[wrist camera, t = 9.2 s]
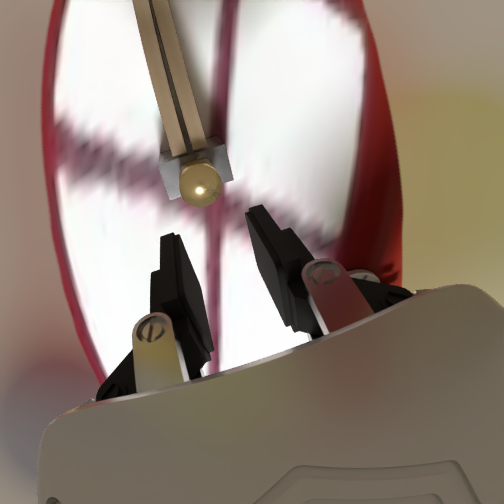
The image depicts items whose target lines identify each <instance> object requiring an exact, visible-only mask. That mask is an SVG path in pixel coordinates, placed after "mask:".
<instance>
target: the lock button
mask: <svg viewBox="0 0 504 504" xmlns="http://www.w3.org/2000/svg"><path fill="white" fill-rule="evenodd" d="M179 190H180V194H181V197H182V198H183V200H184V201H185V202H186V203H188V204H190V205H192V206H195V207H204V206H208V205H210V204H212V203H213V202H215V201H216V200H217V198H218V197H219V196H220V194H221V191H222V180H221V178H220V176H219V174H218V172H217V170H216V168H215V167H214V165H213V164H212V163H210V162H209V161H207V160H204V159H195V160H191V161H189V162H188V163H186V164H185V165H184V166H183V167H182V169H181V170H180V173H179Z"/></svg>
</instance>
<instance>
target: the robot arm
mask: <svg viewBox="0 0 504 504" xmlns="http://www.w3.org/2000/svg"><path fill="white" fill-rule="evenodd" d="M245 216H246V221H247V225H248V229H249V233H250V237H251V242H252V246H253V250H254V254H255V258H256V262H257V266H258V269H259V272H260V274H261V276H262V278H263V280H264V282H265V284H266V286H267V288H268V291H269V293H270V295H271V297H272V299H273V301H274V303H275V305H276V307H277V309H278V311H279V314H280V316H281V318H282V320H283V322H284V324H285V326H286V327H288V326H290V325H291V327H292V329H293V331H294V333H295V332H298V331H302V332H305V333H307V335H308V339H309V342H307V343H304V344H301V345H299V346H296V347H293V348H291V349H288V350H285V351H283V352H280V353H277V354H274V355H271V356H268V357H265V358H263V359H260V360H257V361H254V362H251V363H247V364H244V365H241V366H238V367H235V368H232V369H228V370H225V371H222V372H218V373H215V374H211V375H208V376H205V375H204V372H203V370H202V367H203V366H204V364H205V363H206V362H208V361H211V356H210V352H212V351H214V347H213V342H212V338H211V333H210V329H209V324H208V319H207V315H206V310H205V305H204V300H203V295H202V290H201V286H200V284H199V281H198V279H197V276H196V274H195V271H194V269H193V267H192V264H191V262H190V259H189V257H188V254H187V252H186V249H185V247H184V244H183V242H182V239H181V237H180V235H179V234H178V235H175V234H174V233H170V234H167V235H164V236H161V237H160V270H157V271H154V272H152V273H151V283H150V314H148V315H146V316H144V317H143V318H142V319H140V320H139V321H138V322H137V324H136V325H135V327H134V329H133V333H132V343H133V349H132V350H131V352H130V353H129V354H128V355H127V356H126V357H125V359H124V360H123V361H122V362H121V363H120V364H119V365H118V367H117V368H116V369H115V370H114V371H113V372H112V374H111V375H110V376H109V377H108V378H107V379H106V381H105V382H104V383H103V384H102V385H101V387H100V388H99V390H98V392H97V395H96V399H95V400H93V399H92V398H91V399H89V400H88V401H86V402H85V403H83V404H82V405H80V406H79V407H77V408H75V409H72V410H70V411H68V412H66V413H64V414H62V415H61V416H59V417H57V418H56V419H54V420H53V421H52V422H51V423H50V424H49V425H48V426H47V427H46V429H45V430H44V432H43V435H42V438H41V441H40V446H39V453H38V464H37V494H38V504H504V308H503V307H502V306H501V305H500V304H499V303H498V302H497V301H496V300H495V299H494V298H492V297H491V296H490V295H489V294H487V293H486V292H484V291H483V290H482V289H480V288H478V287H475V286H472V285H467V284H455V285H447V286H442V287H438V288H434V289H424V290H415V293H414V294H413V293H411V292H410V291H408V290H407V289H405V288H402V287H399V286H394V285H389V284H384V283H380V281H379V279H378V278H377V277H376V276H375V275H374V273H372V272H370V271H368V270H364V269H357V270H352V271H348V272H347V271H346V270H345V268H344V267H343V266H342V265H341V264H340V263H339V262H337V261H335V260H332V259H327V258H321V259H316V260H315V259H314V257H313V256H312V255H311V253H310V252H309V251H308V249H307V248H306V247H305V246H304V244H303V243H302V242H301V240H300V239H299V238H298V237H297V235H296V234H295V233H294V231H293V230H292V229H291V228H287V229H284V230H280V228H279V227H278V225H277V224H276V223H275V221H274V220H273V219H272V217H271V216H270V214H269V213H268V212H267V210H266V209H265V208H264V206H263V205H262V204H261V205H258V206H254V207H251V208H249V212H246V213H245Z"/></svg>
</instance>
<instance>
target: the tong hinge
mask: <svg viewBox="0 0 504 504" xmlns="http://www.w3.org/2000/svg"><path fill="white" fill-rule="evenodd" d="M206 142H207V146H205V147H202V148H199V149H196V150H193V147H192V145H191V143H190V144H187V145H185V146H186V150H187V152H186V153H183V154H180V155H176V156H173V155H172V152H171V150H169V151H166V152H163V153H160V156H159V161H158V167H159V170H160V173H161V176H162V179H163V182H164V185H165V188H166V190H167V193H168V196H169V199H170V200H172V199H175V198H178V197H181V194H180V190H179V173H180V170H181V169H182V167H183V166H184V165H185V164H186V163H188V162H189V161H191V160H195V159H204V160H207V161H209V162H210V163H212V164H213V165H214V167H215V168H216V170H217V172H218V174H219V176H220V178H221V180H222V183H225V182H229V181H232V180H234V179H233V175H232V171H231V167H230V163H229V159H228V155H227V150H226V146H225V144H224V143H223V142H222V140H221V139H220V138H219V137H218V136H214V137H210V138H207V139H206Z"/></svg>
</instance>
